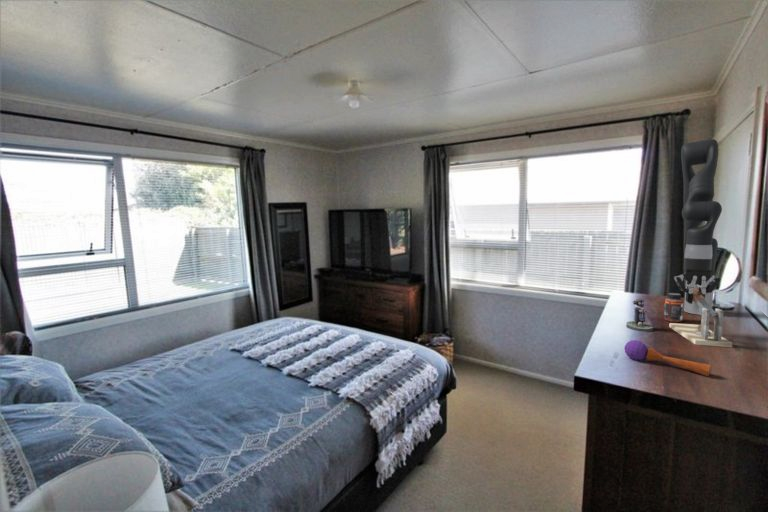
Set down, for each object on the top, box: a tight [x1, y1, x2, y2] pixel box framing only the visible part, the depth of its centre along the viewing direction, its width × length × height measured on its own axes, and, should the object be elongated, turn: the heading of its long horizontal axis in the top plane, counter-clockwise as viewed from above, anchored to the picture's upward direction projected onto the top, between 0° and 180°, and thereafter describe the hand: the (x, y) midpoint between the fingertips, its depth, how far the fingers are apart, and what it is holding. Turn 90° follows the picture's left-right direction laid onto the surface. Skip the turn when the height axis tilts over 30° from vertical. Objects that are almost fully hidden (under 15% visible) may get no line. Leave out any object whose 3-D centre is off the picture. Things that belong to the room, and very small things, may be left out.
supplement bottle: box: [663, 292, 684, 323], centre depth 146 cm, size 6×6×11 cm
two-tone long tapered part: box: [623, 339, 712, 378], centre depth 105 cm, size 6×6×20 cm
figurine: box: [625, 297, 654, 333], centre depth 138 cm, size 8×8×12 cm
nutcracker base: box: [668, 308, 733, 348], centre depth 128 cm, size 20×10×12 cm, turn 161°
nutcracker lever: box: [692, 288, 718, 318], centre depth 127 cm, size 17×3×4 cm, turn 161°
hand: (694, 303), depth 131 cm, fingers closed on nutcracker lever, 2 cm apart
